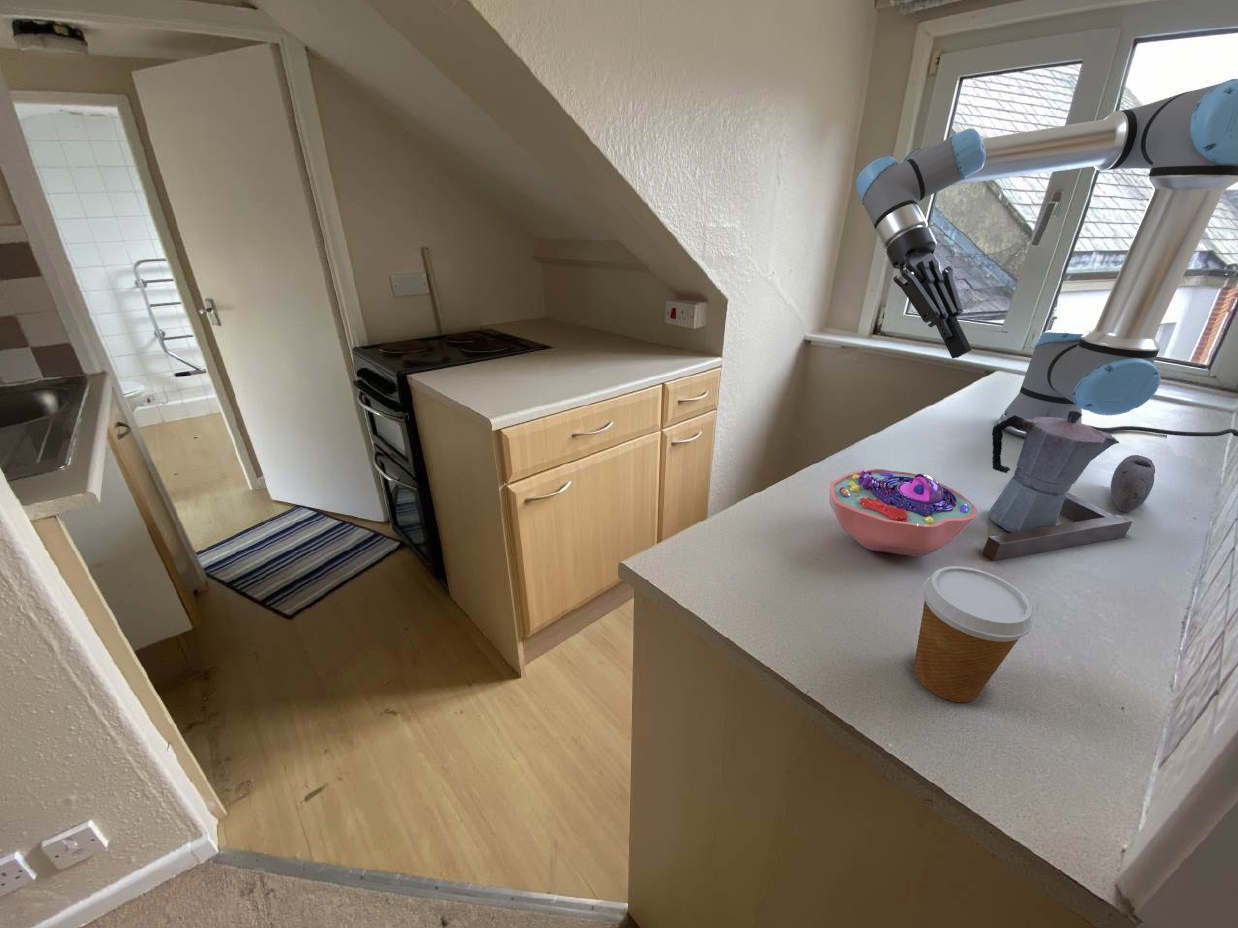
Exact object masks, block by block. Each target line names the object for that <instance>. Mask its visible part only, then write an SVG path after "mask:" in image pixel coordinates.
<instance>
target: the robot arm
mask: <svg viewBox="0 0 1238 928" xmlns="http://www.w3.org/2000/svg"><path fill="white" fill-rule="evenodd" d="M1091 167H1094V168H1095V170H1097V171H1099V172H1104V171H1111V170H1125V169H1127V170H1128V169H1141V170H1142V169H1143V170H1145V169H1146V170H1147V169H1148V170H1149V173H1148V174H1147V177H1146V180H1147V181H1148V183H1149V184H1150V186H1151V187H1152V189H1153V190H1152V193H1151V196H1150V198H1149V200H1148V203H1147V205H1146V207H1145V209H1144V212H1143V215H1142V217H1141V219H1140V221H1139V225H1138V227H1137V229H1136V231H1135V233H1134V236H1133V239H1132V240H1131V243H1130V245H1129V248H1128V250H1127V253H1126V255H1125V256H1124V260H1123V262H1122V264H1121V267H1120V269H1119V271H1118V273H1117V276H1116V278H1115V280H1114V282H1113V286H1112V288H1111V290H1110V292H1109V295H1108V297H1107V300H1106V302H1105V304H1104V306H1103V309H1102V312H1101V314H1100V316H1099V318H1098V320H1097V323H1096V324H1095V327H1094V328H1093V329H1092V330H1090V331H1079V330H1078V331H1077V330H1076V331H1075V330H1059V329H1058V330H1055V329H1054V330H1053V329H1052V330H1051V329H1050V330H1046V331H1044V332H1042V333H1041V334H1040V336H1039V338H1038V340H1037V342H1036V344H1035V345H1034V350H1033V352H1032V356H1031V359H1030V361H1029V364H1028V367H1027V369H1026V372H1025V375H1024V378H1023V381H1022V383H1021V386H1020V389H1019V392H1018V394H1017V395H1016V396H1015V397H1014V398H1013V400H1012V401H1011V403H1010V404H1009V405H1008V406H1007V407H1006V408H1005V410H1004V411H1003V412H1002V413H1001V415H1000V416H999V420H998V424H1000V423H1001V422H1002V421H1004V420H1005V421H1006V420H1007V419H1008V418H1010V417H1012V416H1013V415H1015V416H1018V417H1021V418H1028V419H1034V418H1035V417H1053V418H1062V419H1066V420H1067V418H1068V414H1069V411H1077V412H1079V413H1081V414H1082V416H1083V412H1082V411H1083V410H1085V411H1088V412H1090V413H1092V414H1095V415H1098V416H1099V415H1100V416H1118V415H1122V414H1126V413H1129V412H1130V411H1132V410H1134V409H1138V408H1140V407H1141V406H1143V405H1144V404H1147V402H1148V401H1150V399H1151V398H1153V396H1154V395H1155V394H1156V393H1157V391H1158V389H1159V387H1160V385H1161V380H1162V379H1161V373H1160V371H1159V370H1158V368H1157V366H1156V365H1155V364H1154V362H1155V360H1156V358H1157V356H1158V354H1159V352H1160V350H1161V345H1160V344H1159V342H1158V341H1157V339H1156V338H1155V336H1156V335H1157V332H1158V330H1159V328H1160V326H1161V323H1162V321H1163V319H1164V317H1165V315H1166V313H1167V311H1168V309H1169V307H1170V304H1171V302H1172V300H1173V298H1174V296H1175V294H1176V292H1177V290H1178V287H1180V284H1181V281H1182V279H1183V278H1184V275H1185V273H1186V271H1187V269H1188V267H1189V265H1190V263H1191V261H1192V259H1193V256H1194V254H1195V252H1196V250H1197V248H1198V246H1199V244H1200V241H1201V240H1202V237H1203V235H1204V234H1205V232H1206V229H1207V227H1208V225H1209V223H1210V220H1211V219H1212V216H1213V215H1214V213H1215V210H1216V208H1217V207H1218V204H1219V202H1220V200H1221V198H1222V196H1223V194H1224V191H1226V190H1227V189H1228V188H1230V187H1231V186H1233V185H1235V184H1237V183H1238V78H1231V79H1228V80H1225V81H1223V82H1220V83H1217V84H1213V85H1210V86H1209V85H1208V86H1206V87H1201V88H1197V89H1193V90H1189V91H1184V92H1181V93H1178V94H1175V95H1172V96H1170V97H1166V98H1163V99H1159V100H1157V101H1154V102H1150V103H1147V104H1143V105H1140V106H1137V107H1133V108H1128V109H1122V110H1116V111H1113V112H1110V113H1109V114H1108V115H1107V116H1106V117H1105V118H1104V119H1098V120H1097V119H1096V120H1092V121H1085V122H1080V123H1073V124H1067V125H1066V124H1065V125H1060V126H1054V127H1048V128H1042V129H1035V130H1029V131H1023V132H1016V133H1010V134H1003V135H997V136H991V137H985V138H984V137H983V138H982V136H981V134H980V133H979V132H978V131H977V130H976V129H975V128H971V127H970V128H965V129H964V130H962V131H960V132H957V133H954V134H952V135H951V136H949V137H947V138H946V139H944V140H942V141H940V142H938V143H934V144H932V145H928V146H926V147H921V148H916V149H914V150H912V151H910V152H909V153H907V154H906V155H905V156H904V157H903V158H902V160H901V161H900V162H899V161H898V160H896V158H895V157H893V156H891V155H886V156H885V157H884V156H883V157H880V158H877V159H875V160H873V161H872V162H870V163H869V164H867V165H866V166H865V167H864V168H863V169H862V170H861V171H860V173H859V175H858V176H857V179H856V182H855V186H856V190H857V193H858V195H859V197H860V200H861V205H862V206H863V207H864V209H865V211H866V214H867V215H868V216H869V219H870V221H871V223H872V225H873V228H874V229H875V231H876V234H877V235H878V238H879V240H880V243H881V244H882V247H883V249H884V250H886V251H885V253H886V256H887V258H888V261H889V263H890V264H891V267H892V268H893V269H895V270H899V273H897V274H896V275H895V276H894V277H893V278H892V280H893V282H894V283H895V284H896V285H897V286H898V287H899V288H900V289H901V290H902V291H903V293H904V295H905V296H906V298H907V299H908V300H909V302H910V303H911V305H912V306H913V308H914V309H915V311H916V312H917V314H918V315H919V316H920V318H921V319H922V321H923V322H924V323H926V324H927V323H929V322H930V323H929V324H927V326H928V327H929V328H934V327H935V326H936V329H937V330H938V332H939V335H940V337H941V339H942V340H943V342H944V345H945V346H946V349H947V351H948V353H949V355H950V357H951V359H957V358H960V357H962V356H963V355H965V354H967V353H969V352H971V351H972V350H973V349H972V347H971V345H970V343H969V341H968V339H967V336H966V335H965V333H964V330H963V328H962V326H961V324H960V322H959V320H958V317H959V316H960V315H962V314H963V312H964V308H963V305H962V302H961V299H960V296H959V292H958V289H957V286H956V283H955V280H954V269H953V267H952V266H951V265H948V266H946V267H943V266H941V262H940V261H939V259H937V257H936V256H935V255H934V252H935V250H936V248H937V244H938V243H937V240H936V238H935V236H934V234H933V232H932V229H931V228H930V227H928V222H927V219H926V218H925V216H924V214H923V212H922V210H921V208H920V206H919V204H918V202H920V201H922V200H924V199H925V198H927V197H930V196H932V195H934V194H936V193H938V192H940V191H943V190H944V189H947V188H948V187H951V186H959V185H967V184H973V183H980V182H988V181H997V180H1002V179H1010V178H1011V179H1012V178H1018V177H1024V176H1031V175H1039V174H1048V173H1055V172H1061V171H1062V172H1063V171H1068V170H1069V171H1070V170H1076V169H1083V168H1091ZM1082 416H1081V417H1080V418H1079V420H1078V421H1077V423H1081V424H1083V423H1082V422H1083V420H1082V418H1083V417H1082ZM998 424H997V425H998ZM1087 425H1088V424H1087ZM1088 426H1090V427H1092V428H1094V429H1095V430H1098V431H1102V432H1105V433H1112V432H1120V431H1121V432H1123V431H1136V432H1145V433H1152V434H1160V435H1167V436H1168V435H1169V436H1178V437H1179V436H1180V437H1220V436H1224V435H1227V434H1232V436H1234V437H1238V430H1237V429H1236V428H1226V429H1223V430H1220V431H1182V430H1181V431H1180V430H1170V429H1161V428H1156V427H1155V428H1153V427H1147V426H1136V425H1121V426H1113V427H1098V426H1094V425H1088ZM1003 431H1005V432H1008V433H1009V434H1013V435H1015V436H1018V437H1021V438H1023V439H1025V436H1026V432H1025V431H1020V430H1017V429H1016V428H1014V427H1012V426H1010V427H1007V428H1005V429H1004V430H1003Z"/></svg>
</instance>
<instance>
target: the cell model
mask: <svg viewBox="0 0 1238 928" xmlns="http://www.w3.org/2000/svg"><path fill="white" fill-rule="evenodd" d="M828 501H829V505H830V508H831V509H832V512H833V513H834V515H835V517H836V519H837V522H838V524H839V527H840V528H841V529H842V530H843V531H844V532H845V533H846V534H847V535H849V536H850V537H851V538H852V539H854V540H855V541H856V542H857V543H858V544H859V545H860V546H861V547H863V548H864V549H867V550H869V551H875V552H883V553H890V554H894V555H901V556H908V557H922V556H925V555H929V554H931V553H934V552H936V551H938V550H940V549H941V548H943V547H945V546H946V545H948V544H950V543H951V542H952V541H954V540H955V539H956V538H957V537H958V536H959V535H960V534H961V533H962V531H963V530H965V528H966V527H967V526H968V525H969V524H970V523H971V522H972V521H973V520H974V518H976V516H977V514H978V509H977V507H976V506H975V504H974V503H973V502H972V501H971V500H970V499H968V498H967V497H965V496H964V495H963V494H962V493H960V492H958V491H957V490H956V489H954V488H952V487H950V486H948V485H945V484H943V483H940V482H939V481H938V480H937V479H936V478H935V477H933V476H930V475H928V474H924V473H917V474H916V473H913V472H906V471H896V470H888V469H882V468H871V469H862V470H857V471H853V472H849V473H847V474H845V475H842V476H841V477H839V478H836V479H834V480H833V481H832V482H830V484H829V494H828Z"/></svg>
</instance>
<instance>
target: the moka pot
mask: <svg viewBox="0 0 1238 928" xmlns="http://www.w3.org/2000/svg"><path fill="white" fill-rule="evenodd" d="M1081 416H1083V413H1082V414H1081V413H1079V412H1077V411H1069V414H1068V418H1067V420H1066V419H1062V418H1053V417H1035V418H1034V419H1028V418H1021V417H1018V416H1015V415H1013V416H1012V417H1010V418H1008V419H1007V420H1006V421H1005V420H1004V421H1002V422H1001V423H1000V424H996V425H994V426H993V427H992V433H991V435H992V443H991V444H992V457H991V458H992V459H991V460H992V461H991V462H992V470H994V471H998V472H1000V473H1003V474H1004V473H1005V474H1008V473H1009V472H1010V471H1011V470H1012V469H1011V468H1010V467H1009V466H1004V465H1003V464H1002V460H1001V455H1002V449H1003V446H1002V445H1003V437H1004V433H1003V431H1005V430H1004V429H1005V428H1007V427H1010V426H1012V427H1014V428H1016V429H1017V430H1020V431H1025V432H1026V436H1025V438H1024V439H1023V442H1022V448H1021V450H1020V453H1019V457H1018V460H1017V462H1016V468H1015V470H1014V473H1013V476H1012V477H1011V478H1010V480H1009V481H1008V483H1007V484H1006V485H1005V487H1004V489H1002V491H1001V493H1000V495H999V496H998V497H997V499H996V500H995V502H994V503H993V504H992V506H991V507H990V510H989V512H988V515H987V517H988V518H989V520H991V522H993V523H994V524H995V525H997V526H998V527H1001V528H1002V529H1003V530H1005V531H1007V532H1008V533H1013V532H1019V531H1025V530H1031V529H1037V528H1043V527H1049V526H1055V525H1057V523H1058V520H1059V516H1060V514H1061V513H1060V511H1061V508H1062V505H1063V503H1064V502H1065V501H1067V499H1068V497H1067V496H1066V492H1067V493H1069V491H1070V489H1071V488H1072V486H1073V485H1074V484H1075V483H1076V482H1077V481H1078V479H1079V478H1080V477H1081V475H1082V474H1083V472H1084V471H1085V470H1086V468H1087V467H1088V465H1089V464H1090V463H1091V462H1092V461H1093V460H1094V459H1096V458H1097V457H1098V456H1100V455H1101V454H1102V453H1103V452H1105V451H1107V450H1108V449H1109V448H1110V447H1112V446H1113V445H1114V446H1115V445H1116V444H1120V441H1119V440H1117V438H1116V437H1115V436H1113V435H1112V434H1110V433H1109V432H1102V431H1098V430H1095V429H1094V428H1092V427H1090V426H1091V425H1089V426H1088V424H1085V423H1077V421H1078V420H1079V418H1080V417H1081Z"/></svg>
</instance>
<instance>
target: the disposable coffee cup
mask: <svg viewBox="0 0 1238 928" xmlns="http://www.w3.org/2000/svg"><path fill="white" fill-rule="evenodd" d="M922 594H923V599H924V602H923V607H922V615H921V619H920V620H921V621H920V627H919V633H918V639H917V645H916V652H915V659H914V664H913V671H914V674H915V676H916V678H917V680H918V681H919V682H920V684H922V686H924V687H925V688H926V689H927V690H928V691H930V692H931V693H933V694H934V695H936V696H937V697H940V698H942V699H944V700H948V701H950V702H955V703H970V702H972V701H974V700H976V699H977V698H978V697H979V694H980V693H981V692H982V691H983V689H984V688H985V686H986V685H987V684H988V683H989V681H990V680H991V678H993V676H994V674H995V673H996V671H997V670H998V669H999V667H1001V664H1002V663H1003V662H1004V660H1005V659H1006V657H1007V656H1008V655H1009V654H1010V652H1011V650H1012V649H1013V647H1014V646H1015V645H1016V643H1017V642H1018V641H1019V640H1020V639H1021V638H1022V637H1024V636H1026V635H1028V634H1029V633H1030V632H1031V630H1032V629H1033V628H1034V617H1033V607H1032V604H1031V602H1030V600H1029V599H1028V597H1027V596H1026V595H1025V594H1024V593H1023V592H1022V591H1021V590H1019V588H1018V587H1016V586H1015V585H1013V584H1012V583H1010V582H1008V581H1006V580H1005V579H1003V578H1001V577H999V576H998V575H994V574H993V573H990V572H987V571H983V570H981V569H977V568H973V567H969V566H968V567H967V566H956V565H951V566H944V567H942V568H939V569H936V570H935V572H934V573H933V574H932V575H931V576H929V577H927V578H926V579H925V581H924V582H923V585H922Z"/></svg>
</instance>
